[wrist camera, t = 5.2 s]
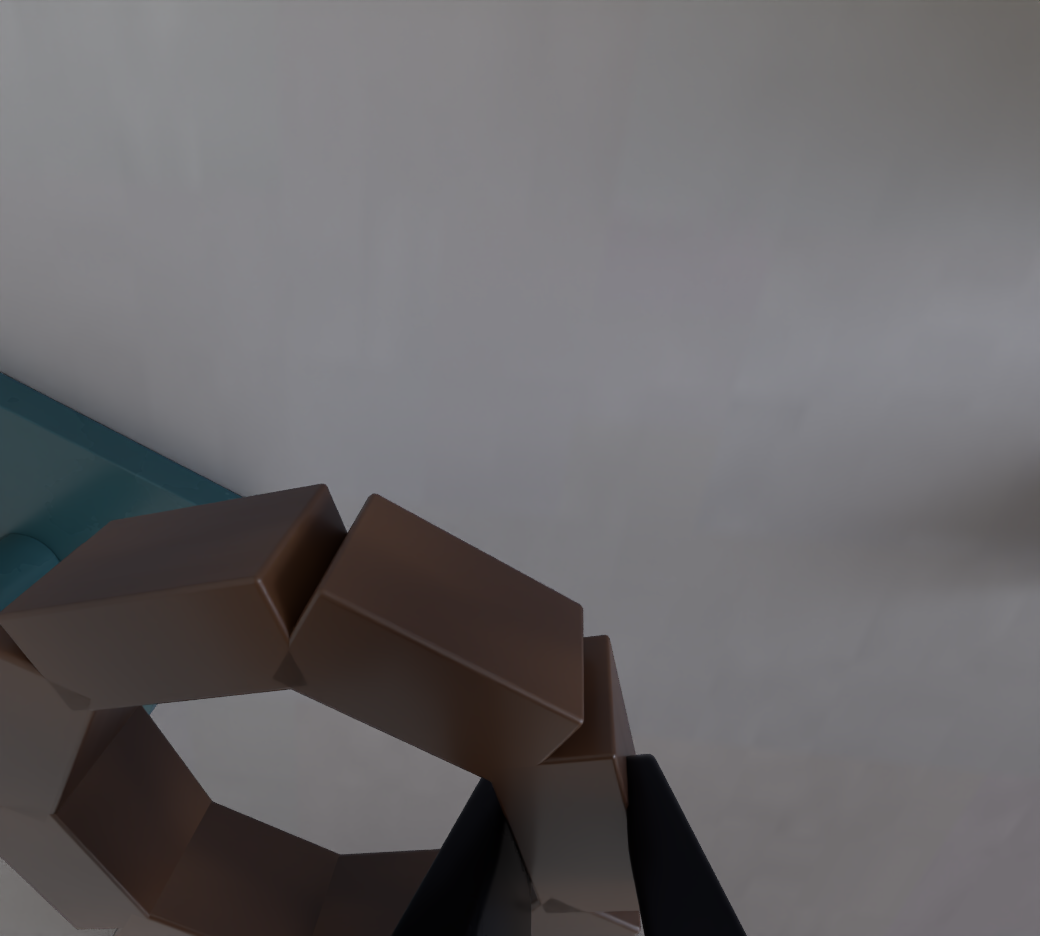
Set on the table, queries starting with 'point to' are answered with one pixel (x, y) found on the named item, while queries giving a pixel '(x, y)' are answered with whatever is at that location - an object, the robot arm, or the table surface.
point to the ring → (320, 676)
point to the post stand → (74, 484)
